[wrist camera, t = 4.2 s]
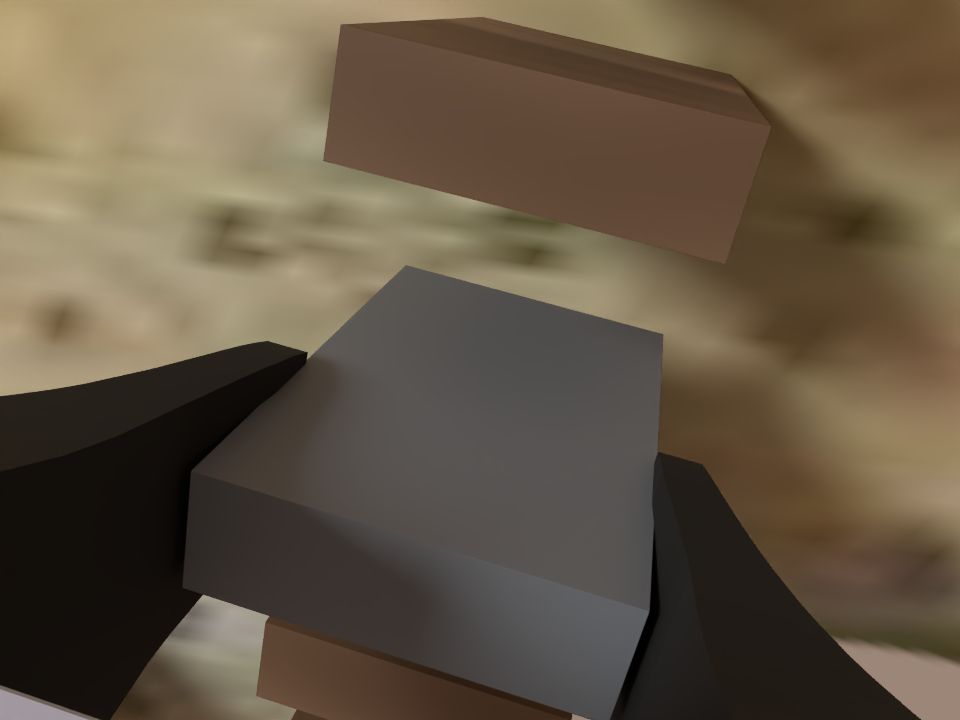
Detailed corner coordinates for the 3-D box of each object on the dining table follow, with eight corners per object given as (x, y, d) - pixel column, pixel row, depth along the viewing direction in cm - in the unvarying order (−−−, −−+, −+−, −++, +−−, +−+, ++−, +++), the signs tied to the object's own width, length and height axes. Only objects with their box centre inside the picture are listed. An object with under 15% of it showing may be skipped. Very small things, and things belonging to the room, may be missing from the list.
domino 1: (705, 156, 17) (725, 263, 10) (466, 98, 18) (323, 160, 11) (730, 75, 17) (771, 127, 9) (483, 17, 17) (340, 24, 10)
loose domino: (639, 409, 17) (607, 724, 9) (392, 340, 17) (182, 588, 10) (663, 334, 16) (649, 612, 9) (405, 264, 16) (190, 471, 9)
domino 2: (592, 520, 21) (546, 791, 14) (397, 463, 22) (256, 695, 14) (609, 465, 20) (571, 720, 13) (408, 408, 21) (265, 622, 14)
